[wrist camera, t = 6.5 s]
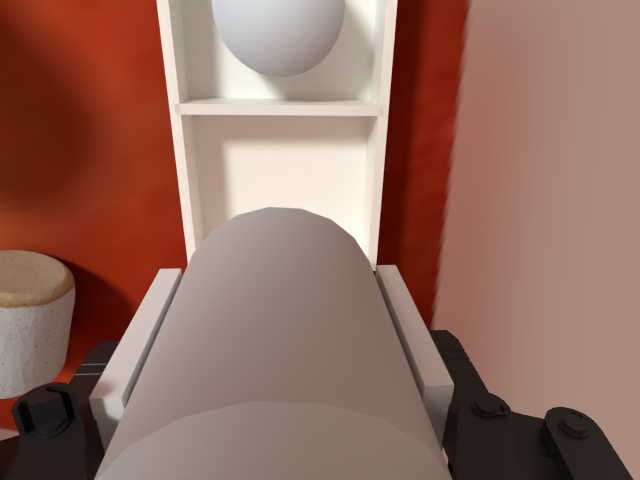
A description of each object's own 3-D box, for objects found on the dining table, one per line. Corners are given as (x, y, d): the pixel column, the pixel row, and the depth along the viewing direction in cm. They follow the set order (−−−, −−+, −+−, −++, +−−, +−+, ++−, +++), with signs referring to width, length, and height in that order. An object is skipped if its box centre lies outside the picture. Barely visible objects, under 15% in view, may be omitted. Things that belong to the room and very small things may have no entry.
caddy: (162, -103, 25) (141, -128, 21) (389, -93, 26) (406, -115, 22) (199, 249, 34) (189, 274, 30) (366, 246, 35) (375, 270, 31)
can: (240, 378, 20) (187, 779, 9) (152, 243, 17) (-87, 604, 6) (394, 319, 19) (534, 681, 8) (330, 167, 16) (422, 424, 5)
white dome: (217, -59, 25) (205, -76, 21) (338, -55, 26) (347, -71, 22) (226, 71, 28) (217, 76, 24) (335, 73, 28) (342, 78, 25)
